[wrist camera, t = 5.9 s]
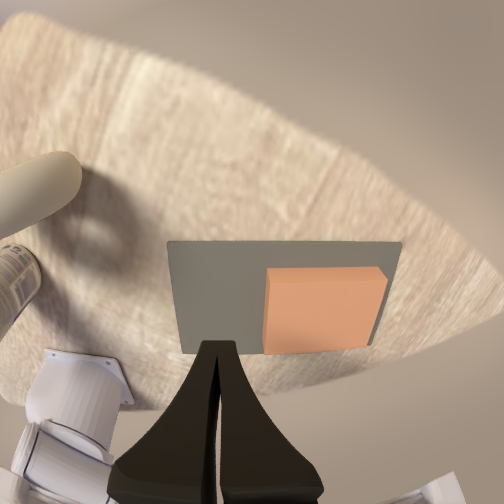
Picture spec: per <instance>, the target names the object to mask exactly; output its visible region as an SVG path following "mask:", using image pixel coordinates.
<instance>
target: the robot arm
mask: <svg viewBox="0 0 504 504" xmlns="http://www.w3.org/2000/svg"><path fill="white" fill-rule="evenodd" d="M44 354H45V355H46V358H45V360H44V362H43V364H42V366H41V368H40V370H39V372H38V374H37V376H36V378H35V380H34V382H33V384H32V386H31V388H30V390H29V392H28V394H27V398H26V415H27V419H28V421H29V423H28V424H27V425H26V427H25V429H24V431H23V434H22V436H21V438H20V441H19V443H18V446H17V449H16V452H15V455H14V458H13V461H12V465H11V471H9V470H8V469H6V468H4V467H2V466H0V504H118V503H119V504H217V492H216V460H215V459H216V454H215V453H216V452H215V451H216V450H215V443H216V429H217V420H218V410H219V401H220V395H221V404H222V410H221V457H220V458H221V459H220V460H221V461H220V487H221V492H222V496H223V500H224V504H318V502H317V499H318V498H319V497H320V496H321V494H322V493H323V492H324V487H323V484H322V481H321V479H320V477H319V475H318V473H317V471H316V469H315V468H314V466H313V465H312V464H311V463H310V462H309V461H308V460H307V459H306V458H305V457H303V456H302V455H301V454H300V453H299V452H298V451H297V450H296V449H295V448H294V447H293V446H292V445H291V444H290V442H289V441H288V440H287V439H286V438H285V437H284V435H283V434H282V433H281V432H280V431H279V429H278V428H277V427H276V426H275V425H274V423H273V422H272V420H271V419H270V418H269V416H268V415H267V414H266V412H265V410H264V409H263V407H262V406H261V404H260V402H259V401H258V399H257V397H256V395H255V393H254V392H253V390H252V388H251V386H250V384H249V382H248V379H247V377H246V375H245V373H244V370H243V368H242V365H241V362H240V359H239V356H238V352H237V348H236V342H235V341H233V340H203V341H202V342H201V344H200V347H199V350H198V353H197V356H196V358H195V360H194V363H193V365H192V367H191V369H190V371H189V373H188V375H187V377H186V379H185V381H184V382H183V384H182V386H181V387H180V389H179V391H178V392H177V394H176V396H175V397H174V399H173V400H172V402H171V403H170V405H169V406H168V407H167V409H166V410H165V412H164V413H163V414H162V415H161V417H160V418H159V419H158V420H157V422H156V423H155V424H154V425H153V426H152V427H151V429H150V430H149V431H148V432H147V433H146V434H145V435H144V436H143V437H142V438H141V439H140V440H139V441H138V442H137V443H136V444H135V445H134V446H133V447H132V448H130V449H129V450H128V451H127V452H126V453H124V454H123V455H122V456H121V457H119V458H118V459H117V460H116V461H115V463H114V464H113V463H112V462H113V458H114V456H113V455H112V454H110V453H109V448H110V444H111V440H112V436H113V431H114V427H115V423H116V419H117V415H118V412H119V408H120V404H128V405H133V404H134V402H135V401H134V399H133V396H132V394H131V392H130V390H129V387H128V385H127V383H126V380H125V378H124V376H123V373H122V371H121V368H120V366H119V363H118V361H117V360H116V359H114V358H107V357H99V356H91V355H84V354H77V353H70V352H64V351H58V350H52V349H45V350H44ZM30 483H31V484H30ZM378 504H466V502H465V499H464V496H463V493H462V491H461V488H460V486H459V483H458V481H457V478H456V476H455V473H454V471H450V472H448V473H447V474H444V475H442V476H440V477H438V478H435V479H433V480H431V481H429V482H428V483H426V484H425V485H423V486H422V487H421V488H419V489H417V490H414V491H412V492H409V493H407V494H404V495H401V496H399V497H396V498H393V499H390V500H387V501H384V502H381V503H378Z"/></svg>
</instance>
